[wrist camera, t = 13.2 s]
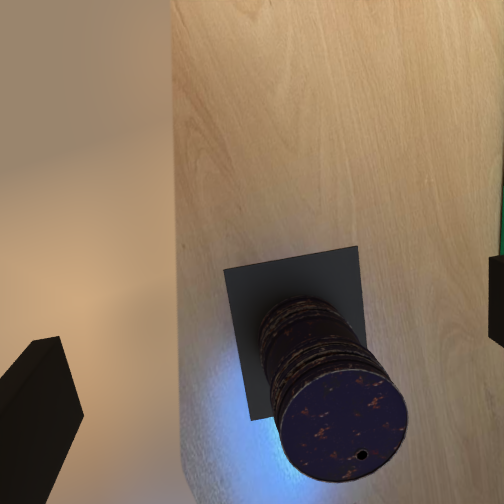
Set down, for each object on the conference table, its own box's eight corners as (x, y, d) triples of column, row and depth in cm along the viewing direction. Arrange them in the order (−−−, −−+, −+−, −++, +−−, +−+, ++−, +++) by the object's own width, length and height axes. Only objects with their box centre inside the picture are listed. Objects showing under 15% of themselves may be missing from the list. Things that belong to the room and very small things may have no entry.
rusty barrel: (239, 324, 44) (252, 412, 29) (319, 276, 43) (374, 342, 29) (285, 394, 46) (318, 506, 32) (361, 349, 46) (430, 442, 32)
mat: (223, 269, 42) (223, 270, 42) (357, 245, 43) (357, 246, 43) (250, 420, 47) (251, 421, 47) (371, 396, 48) (371, 397, 48)
